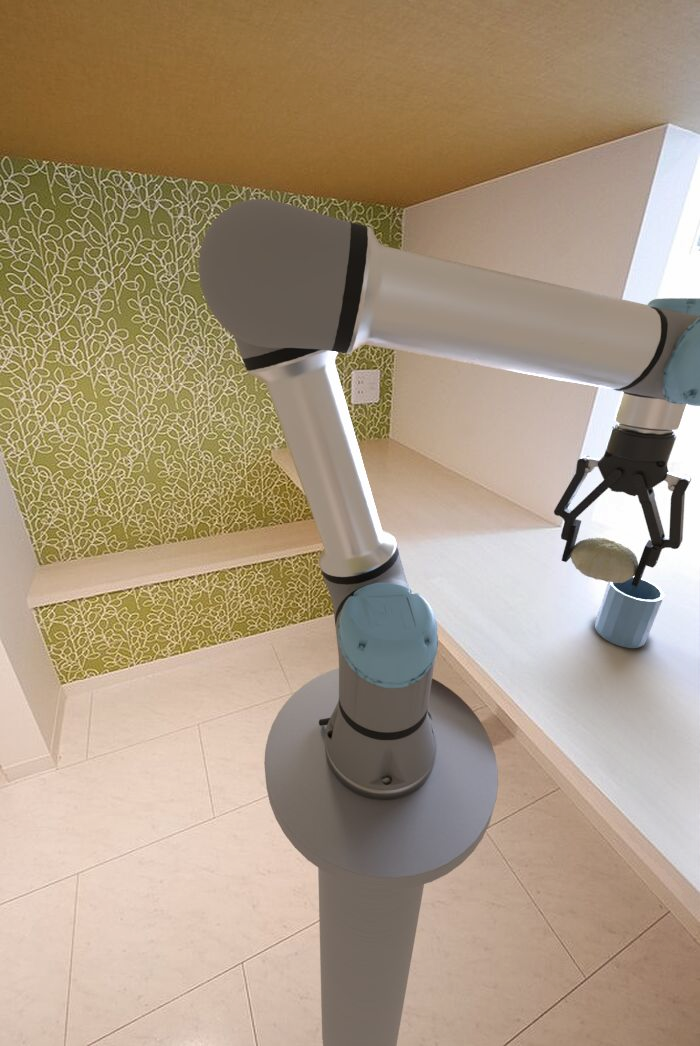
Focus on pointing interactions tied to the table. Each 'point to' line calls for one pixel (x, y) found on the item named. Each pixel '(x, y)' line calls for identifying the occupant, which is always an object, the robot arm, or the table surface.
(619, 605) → the tumbler
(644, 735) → the table surface
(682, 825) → the table surface
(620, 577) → the sea urchin shell
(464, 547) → the table surface
